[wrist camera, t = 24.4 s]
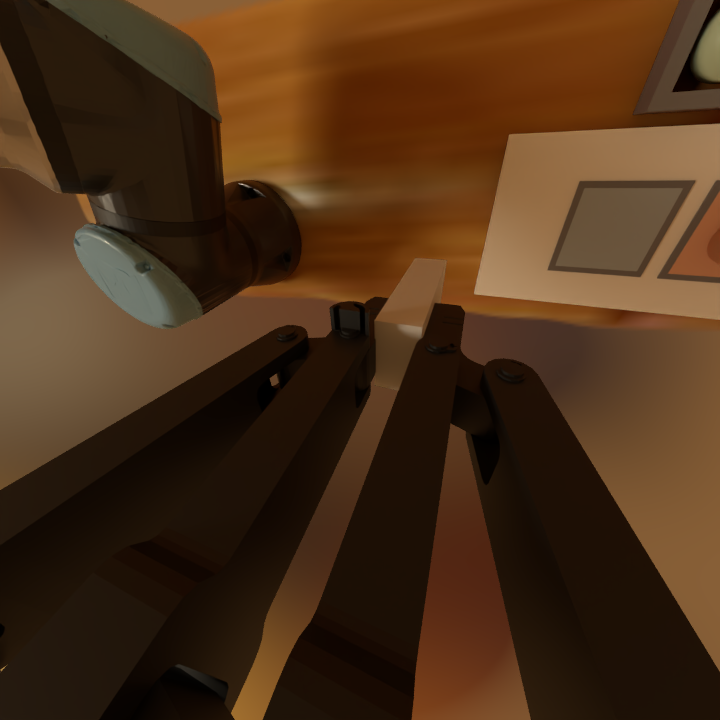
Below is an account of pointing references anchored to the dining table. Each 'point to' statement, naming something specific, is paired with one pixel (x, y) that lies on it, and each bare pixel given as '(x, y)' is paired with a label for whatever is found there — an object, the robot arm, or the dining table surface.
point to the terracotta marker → (714, 247)
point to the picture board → (608, 220)
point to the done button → (707, 52)
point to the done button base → (677, 66)
